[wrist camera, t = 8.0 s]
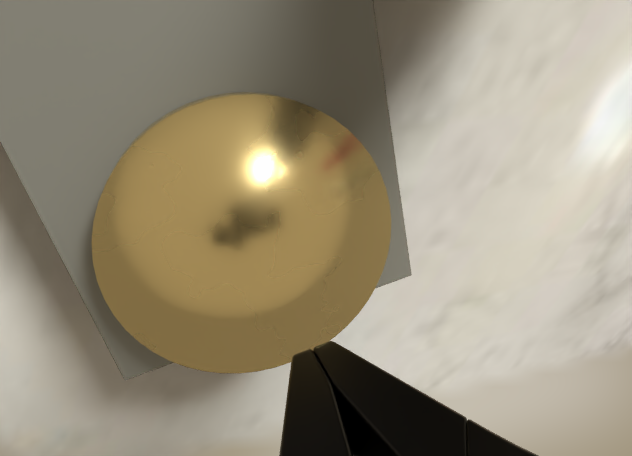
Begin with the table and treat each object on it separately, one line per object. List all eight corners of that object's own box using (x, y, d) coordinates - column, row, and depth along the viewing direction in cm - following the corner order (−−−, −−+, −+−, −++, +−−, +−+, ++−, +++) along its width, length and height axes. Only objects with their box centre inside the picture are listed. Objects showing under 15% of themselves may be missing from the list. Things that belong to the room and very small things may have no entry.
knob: (321, 58, 18) (367, 59, 14) (361, 267, 22) (407, 317, 18) (65, 123, 16) (28, 147, 12) (162, 338, 20) (160, 412, 16)
